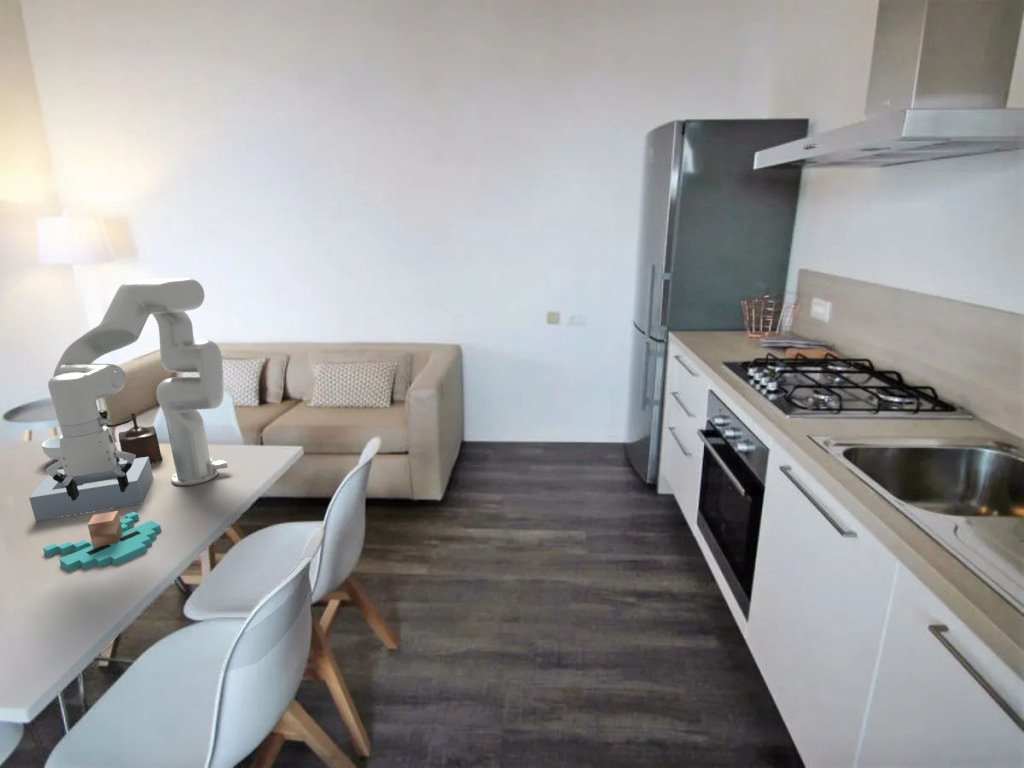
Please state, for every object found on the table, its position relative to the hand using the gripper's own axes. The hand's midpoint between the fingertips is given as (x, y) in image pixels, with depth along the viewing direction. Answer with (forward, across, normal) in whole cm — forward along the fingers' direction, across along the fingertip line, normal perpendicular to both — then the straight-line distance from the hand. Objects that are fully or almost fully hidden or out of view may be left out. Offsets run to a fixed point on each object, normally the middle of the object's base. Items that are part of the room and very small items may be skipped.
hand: (100, 493), depth 134 cm
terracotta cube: (+12, +1, +1) cm, 12 cm away
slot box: (+15, +10, -30) cm, 34 cm away
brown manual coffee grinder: (+16, +6, -56) cm, 58 cm away
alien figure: (+14, 0, +1) cm, 15 cm away
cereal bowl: (+16, +24, -68) cm, 73 cm away
